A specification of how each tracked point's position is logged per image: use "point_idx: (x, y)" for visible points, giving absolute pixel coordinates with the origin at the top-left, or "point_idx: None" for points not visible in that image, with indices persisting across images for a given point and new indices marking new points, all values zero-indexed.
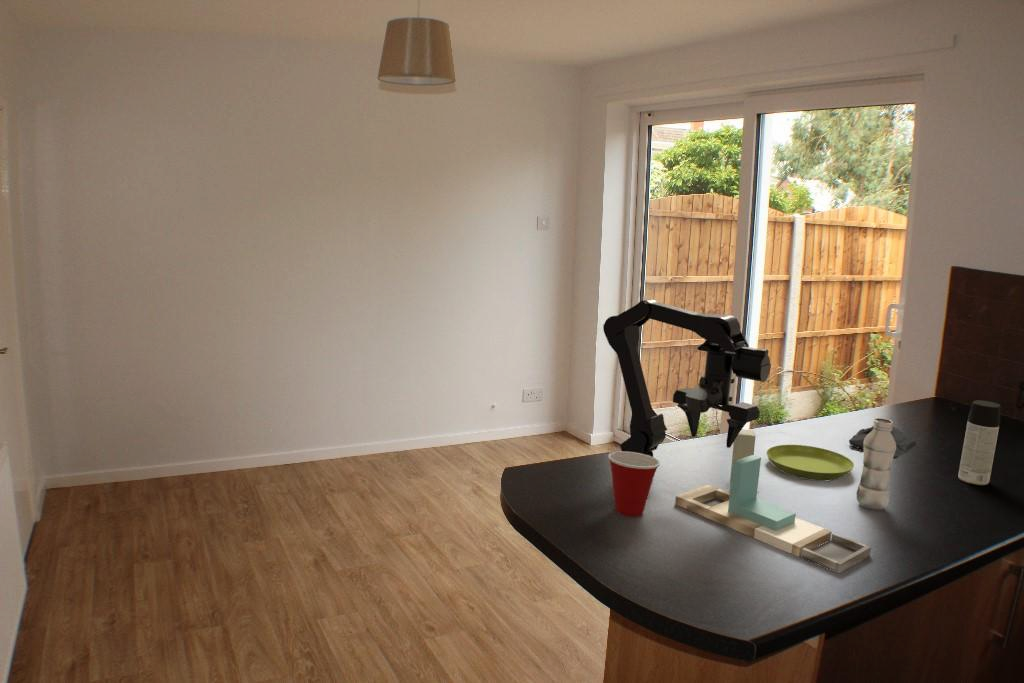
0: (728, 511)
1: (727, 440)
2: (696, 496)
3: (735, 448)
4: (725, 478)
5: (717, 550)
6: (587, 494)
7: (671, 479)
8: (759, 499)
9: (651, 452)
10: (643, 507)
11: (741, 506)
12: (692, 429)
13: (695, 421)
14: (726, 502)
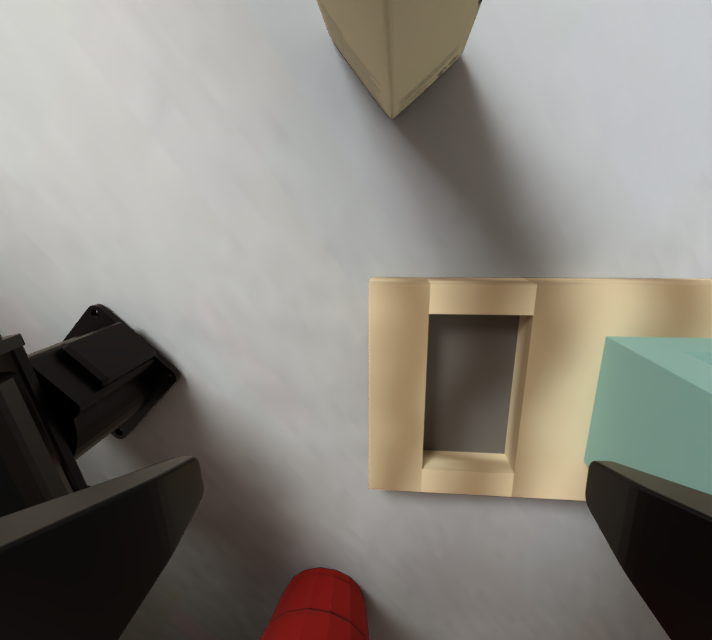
0: (586, 462)
1: (646, 588)
2: (418, 435)
3: (384, 18)
4: (302, 38)
5: (647, 618)
6: (174, 594)
7: (194, 285)
8: (699, 352)
9: (50, 387)
10: (365, 619)
11: None
12: (160, 571)
13: (71, 615)
14: (533, 393)
